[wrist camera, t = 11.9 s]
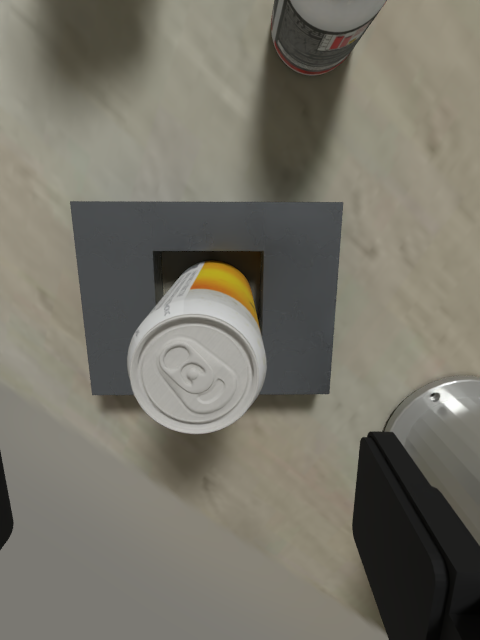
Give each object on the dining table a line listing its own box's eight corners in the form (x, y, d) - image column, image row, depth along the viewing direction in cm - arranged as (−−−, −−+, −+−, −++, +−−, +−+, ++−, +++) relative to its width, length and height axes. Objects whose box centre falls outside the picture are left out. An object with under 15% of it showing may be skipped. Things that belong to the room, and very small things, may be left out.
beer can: (211, 349, 31) (192, 467, 17) (158, 294, 30) (88, 373, 15) (267, 300, 30) (299, 382, 16) (215, 242, 29) (197, 273, 14)
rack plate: (332, 203, 28) (343, 202, 25) (320, 377, 32) (329, 395, 29) (87, 202, 28) (68, 201, 25) (105, 378, 32) (91, 396, 29)
